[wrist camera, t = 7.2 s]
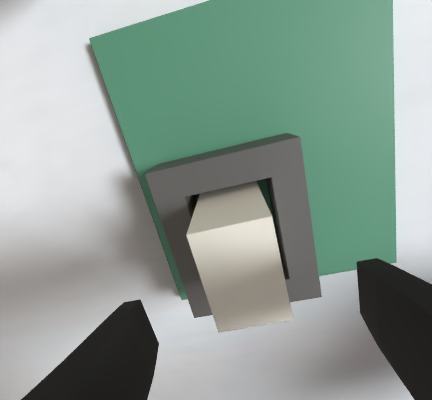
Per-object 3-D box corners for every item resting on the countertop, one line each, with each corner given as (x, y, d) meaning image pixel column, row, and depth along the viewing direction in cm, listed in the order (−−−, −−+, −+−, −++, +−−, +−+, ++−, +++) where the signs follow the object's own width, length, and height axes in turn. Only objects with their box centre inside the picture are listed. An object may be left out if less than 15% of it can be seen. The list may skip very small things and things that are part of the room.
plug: (253, 174, 14) (271, 216, 8) (268, 243, 15) (293, 319, 10) (202, 187, 14) (186, 235, 9) (221, 253, 16) (218, 332, 10)
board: (384, -50, 11) (440, -108, 8) (391, 258, 16) (427, 289, 13) (94, 41, 12) (55, 19, 10) (182, 295, 17) (174, 329, 15)
